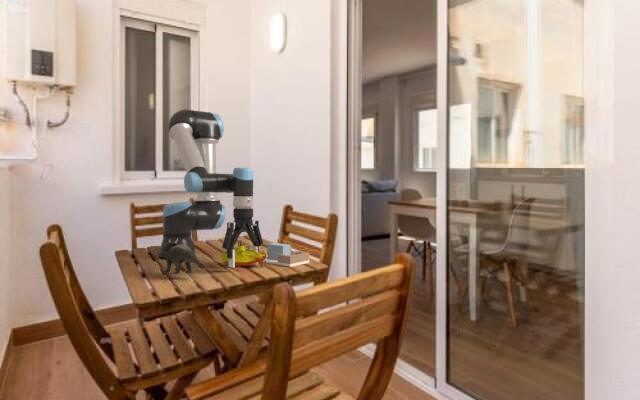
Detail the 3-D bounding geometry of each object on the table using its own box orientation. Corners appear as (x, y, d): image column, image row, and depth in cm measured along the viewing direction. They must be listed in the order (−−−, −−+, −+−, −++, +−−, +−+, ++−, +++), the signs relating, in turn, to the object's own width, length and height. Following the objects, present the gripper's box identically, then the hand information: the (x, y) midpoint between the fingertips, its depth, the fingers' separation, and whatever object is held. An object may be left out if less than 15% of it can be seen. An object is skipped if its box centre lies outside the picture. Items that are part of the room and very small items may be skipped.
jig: (228, 256, 169) (228, 247, 169) (248, 253, 178) (248, 245, 178) (290, 266, 146) (290, 256, 146) (309, 262, 155) (309, 252, 155)
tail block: (267, 258, 159) (267, 244, 159) (275, 257, 163) (275, 243, 162) (282, 260, 153) (282, 245, 153) (290, 259, 157) (290, 244, 157)
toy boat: (262, 268, 143) (262, 242, 142) (218, 266, 146) (217, 240, 146) (268, 265, 149) (268, 240, 149) (225, 263, 153) (225, 238, 152)
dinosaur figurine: (206, 274, 132) (206, 242, 132) (184, 279, 126) (183, 244, 125) (175, 266, 146) (175, 237, 146) (153, 270, 140) (153, 239, 140)
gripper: (224, 209, 136) (225, 270, 136) (271, 207, 154) (272, 261, 154) (211, 208, 140) (212, 268, 141) (259, 206, 159) (259, 259, 159)
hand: (243, 264), depth 148 cm, fingers open, 11 cm apart
